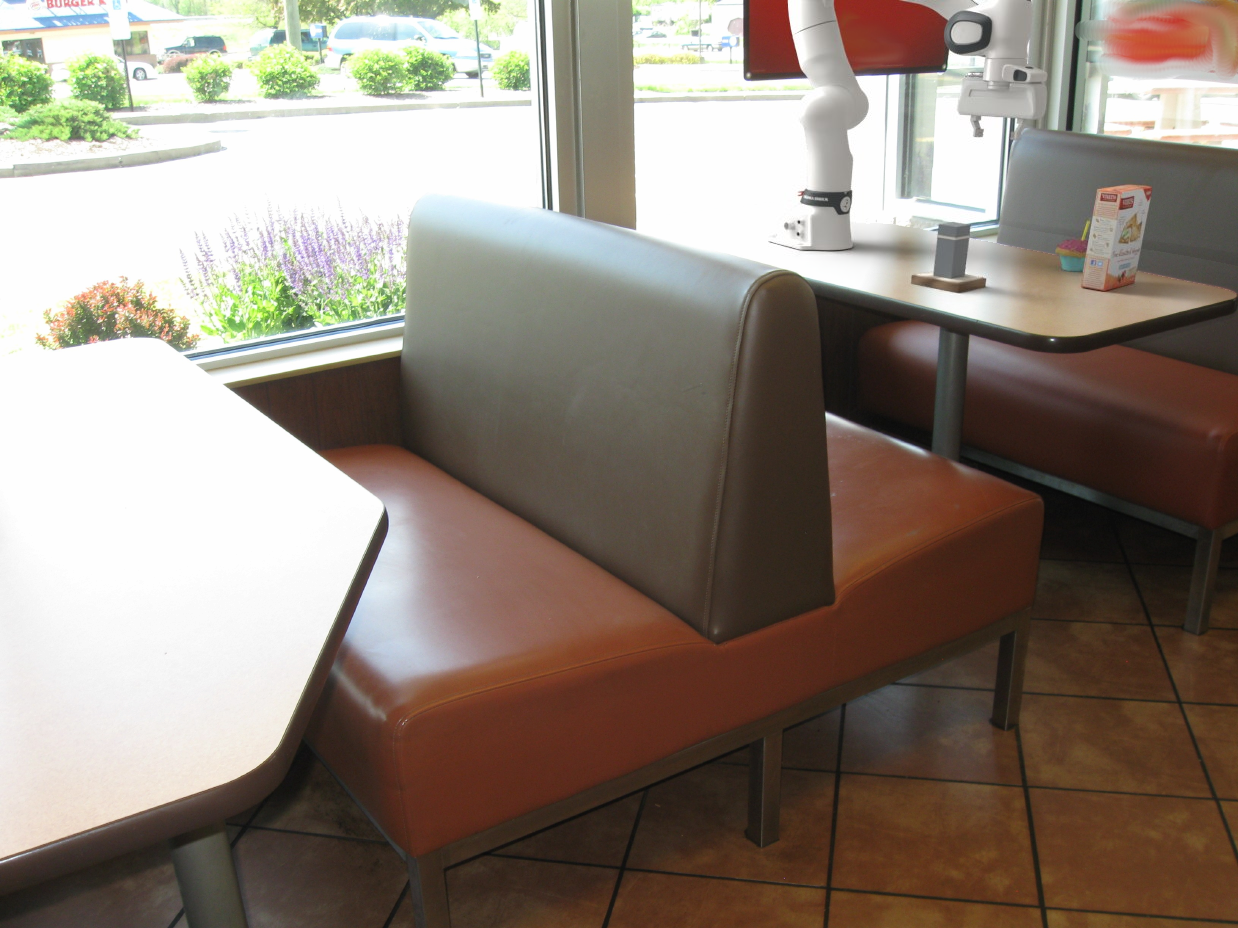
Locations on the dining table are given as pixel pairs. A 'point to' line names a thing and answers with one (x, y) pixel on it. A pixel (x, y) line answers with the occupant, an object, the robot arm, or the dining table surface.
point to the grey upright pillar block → (951, 250)
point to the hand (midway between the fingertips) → (996, 138)
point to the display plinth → (949, 282)
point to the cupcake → (1073, 252)
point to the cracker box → (1116, 236)
